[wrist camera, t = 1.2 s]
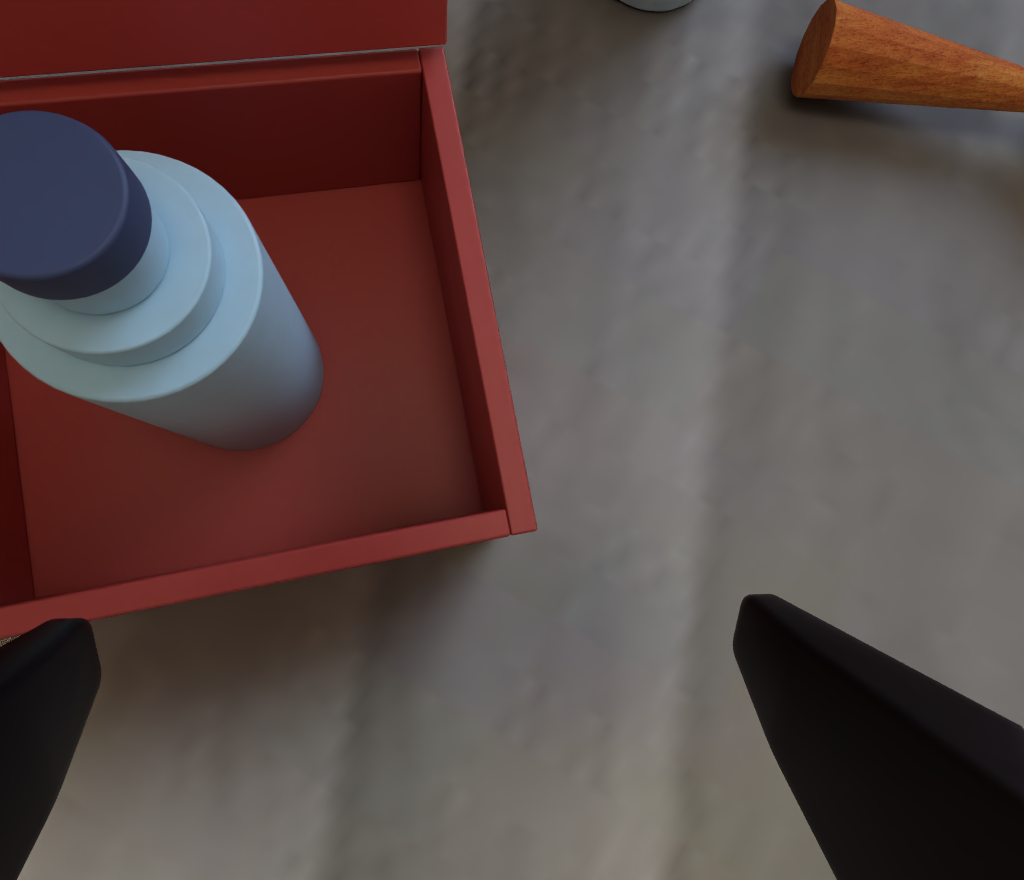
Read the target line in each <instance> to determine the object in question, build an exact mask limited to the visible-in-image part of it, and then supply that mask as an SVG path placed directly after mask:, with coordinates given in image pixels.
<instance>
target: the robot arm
mask: <svg viewBox="0 0 1024 880" xmlns="http://www.w3.org/2000/svg"><path fill="white" fill-rule="evenodd" d="M733 651H734V655H735V658H736V661H737V663H738V666H739V669H740V671H741V674H742V676H743V679H744V682H745V684H746V687H747V689H748V692H749V695H750V697H751V700H752V702H753V705H754V707H755V710H756V713H757V715H758V718H759V720H760V723H761V726H762V728H763V731H764V733H765V736H766V738H767V741H768V743H769V745H770V748H771V750H772V752H773V754H774V756H775V759H776V761H777V763H778V765H779V767H780V769H781V771H782V773H783V775H784V777H785V779H786V781H787V783H788V785H789V787H790V788H791V790H792V792H793V794H794V796H795V798H796V800H797V802H798V804H799V806H800V808H801V810H802V812H803V814H804V816H805V818H806V820H807V822H808V824H809V826H810V828H811V830H812V832H813V834H814V836H815V838H816V840H817V842H818V844H819V846H820V848H821V850H822V851H823V853H824V855H825V857H826V859H827V861H828V863H829V865H830V867H831V869H832V871H833V873H834V875H835V877H836V879H837V880H1024V729H1023V727H1021V726H1020V725H1018V724H1016V723H1014V722H1012V721H1011V720H1009V719H1007V718H1005V717H1003V716H1001V715H999V714H997V713H995V712H994V711H992V710H990V709H988V708H986V707H984V706H982V705H980V704H979V703H977V702H975V701H973V700H971V699H969V698H967V697H965V696H963V695H962V694H960V693H958V692H956V691H954V690H952V689H950V688H948V687H947V686H945V685H943V684H941V683H939V682H937V681H935V680H933V679H932V678H930V677H928V676H926V675H924V674H922V673H920V672H918V671H916V670H915V669H913V668H911V667H909V666H907V665H905V664H903V663H901V662H900V661H898V660H896V659H894V658H892V657H890V656H888V655H886V654H885V653H883V652H881V651H879V650H877V649H875V648H873V647H871V646H870V645H868V644H866V643H864V642H862V641H860V640H858V639H856V638H855V637H853V636H851V635H849V634H847V633H845V632H843V631H841V630H840V629H838V628H836V627H834V626H832V625H830V624H828V623H826V622H824V621H823V620H821V619H819V618H817V617H815V616H813V615H811V614H809V613H808V612H806V611H804V610H802V609H800V608H798V607H796V606H794V605H793V604H791V603H789V602H787V601H785V600H783V599H781V598H779V597H778V596H776V595H773V594H753V595H747V596H746V597H744V599H743V600H742V603H741V606H740V611H739V615H738V620H737V624H736V628H735V633H734V637H733ZM100 681H101V665H100V661H99V656H98V652H97V648H96V643H95V639H94V635H93V630H92V627H91V624H90V623H89V621H88V620H86V619H84V618H58V619H51V620H48V621H46V622H44V623H42V624H41V625H39V626H37V627H35V628H33V629H32V630H30V631H28V632H26V633H25V634H23V635H21V636H19V637H17V638H16V639H14V640H12V641H10V642H8V643H7V644H5V645H3V646H1V647H0V880H17V878H18V876H19V874H20V872H21V870H22V868H23V866H24V864H25V862H26V860H27V858H28V856H29V854H30V852H31V850H32V848H33V846H34V844H35V842H36V840H37V838H38V836H39V834H40V832H41V830H42V828H43V826H44V824H45V822H46V820H47V818H48V816H49V814H50V812H51V810H52V808H53V806H54V803H55V801H56V799H57V796H58V794H59V792H60V789H61V787H62V784H63V782H64V779H65V776H66V774H67V771H68V768H69V766H70V763H71V760H72V758H73V755H74V753H75V750H76V747H77V745H78V742H79V739H80V737H81V734H82V731H83V729H84V726H85V723H86V721H87V718H88V715H89V713H90V710H91V707H92V705H93V702H94V699H95V697H96V694H97V691H98V689H99V686H100Z"/></svg>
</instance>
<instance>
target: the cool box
mask: <svg viewBox="0 0 1024 880" xmlns="http://www.w3.org/2000/svg"><path fill="white" fill-rule="evenodd" d="M32 110H34V111H46V112H51V113H56V114H60V115H63V116H66V117H69V118H72V119H75V120H77V121H79V122H81V123H83V124H85V125H87V126H89V127H90V128H92V129H93V130H95V131H96V132H98V133H99V134H100V135H101V136H103V137H104V138H105V139H106V140H107V141H108V142H109V143H110V144H111V145H112V147H113V148H114V149H115V150H116V151H118V150H130V151H143V152H149V153H154V154H159V155H163V156H166V157H169V158H172V159H175V160H179V161H181V162H183V163H185V164H188V165H190V166H192V167H194V168H196V169H198V170H200V171H201V172H203V173H204V174H206V175H208V176H209V177H211V178H212V179H213V180H215V181H216V182H217V183H218V184H220V185H221V186H222V187H223V188H224V189H225V190H226V191H227V192H228V193H229V194H230V195H231V196H232V197H233V198H234V199H235V200H236V201H237V203H238V204H239V205H240V207H241V208H242V209H243V211H244V212H245V213H246V215H247V217H248V219H249V221H250V222H251V224H252V226H253V228H254V230H255V231H256V233H257V235H258V237H259V239H260V240H261V242H262V244H263V246H264V248H265V249H266V251H267V253H268V255H269V257H270V258H271V260H272V262H273V264H274V266H275V267H276V269H277V271H278V273H279V274H280V276H281V278H282V280H283V282H284V283H285V285H286V287H287V289H288V291H289V292H290V294H291V296H292V298H293V300H294V301H295V303H296V305H297V307H298V309H299V310H300V312H301V314H302V316H303V318H304V319H305V321H306V323H307V325H308V327H309V328H310V330H311V332H312V334H313V336H314V337H315V339H316V341H317V343H318V346H319V348H320V351H321V355H322V359H323V367H324V378H323V385H322V391H321V394H320V397H319V400H318V402H317V404H316V406H315V408H314V410H313V411H312V413H311V414H310V416H309V417H308V419H307V420H306V421H305V422H304V423H303V424H302V426H300V427H299V428H298V429H297V430H296V431H295V432H294V433H292V434H291V435H289V436H288V437H286V438H285V439H283V440H281V441H279V442H277V443H275V444H272V445H270V446H267V447H264V448H259V449H255V450H246V451H233V450H226V449H221V448H217V447H213V446H210V445H207V444H205V443H202V442H199V441H196V440H194V439H191V438H188V437H185V436H182V435H180V434H177V433H174V432H171V431H169V430H166V429H163V428H160V427H158V426H155V425H152V424H149V423H147V422H144V421H141V420H138V419H135V418H133V417H130V416H127V415H124V414H122V413H119V412H116V411H113V410H111V409H108V408H105V407H102V406H100V405H97V404H94V403H91V402H88V401H86V400H83V399H80V398H77V397H75V396H72V395H69V394H67V393H65V392H62V391H60V390H57V389H55V388H53V387H51V386H49V385H48V384H46V383H44V382H42V381H41V380H39V379H37V378H36V377H35V376H33V375H32V374H31V373H29V372H28V371H27V370H26V369H24V368H23V367H22V366H21V365H20V364H19V363H18V362H17V361H16V360H15V359H14V358H13V357H12V356H11V355H10V354H9V352H8V351H7V349H6V348H5V347H4V345H3V344H2V343H1V341H0V639H3V638H8V637H13V636H18V635H23V634H25V633H26V632H28V631H30V630H32V629H33V628H35V627H37V626H39V625H41V624H42V623H44V622H46V621H48V620H51V619H58V618H84V619H86V620H88V621H92V620H97V619H102V618H107V617H112V616H117V615H122V614H127V613H132V612H137V611H142V610H147V609H152V608H157V607H161V606H166V605H171V604H176V603H181V602H186V601H191V600H196V599H201V598H206V597H211V596H216V595H221V594H226V593H231V592H236V591H240V590H245V589H250V588H255V587H260V586H265V585H270V584H275V583H280V582H285V581H290V580H295V579H300V578H305V577H310V576H315V575H319V574H324V573H329V572H334V571H339V570H344V569H349V568H354V567H359V566H364V565H369V564H374V563H379V562H384V561H389V560H394V559H398V558H403V557H408V556H413V555H418V554H423V553H428V552H433V551H438V550H443V549H448V548H453V547H458V546H463V545H468V544H473V543H477V542H482V541H487V540H492V539H497V538H502V537H507V536H509V535H517V534H522V533H527V532H532V531H536V530H537V524H536V519H535V514H534V509H533V504H532V499H531V494H530V489H529V483H528V478H527V473H526V468H525V463H524V458H523V453H522V447H521V442H520V437H519V432H518V427H517V422H516V417H515V412H514V406H513V401H512V396H511V391H510V386H509V381H508V376H507V371H506V365H505V360H504V355H503V350H502V345H501V340H500V335H499V329H498V324H497V319H496V314H495V309H494V304H493V299H492V294H491V288H490V283H489V278H488V273H487V268H486V263H485V258H484V253H483V247H482V242H481V237H480V232H479V227H478V222H477V217H476V211H475V206H474V201H473V196H472V191H471V186H470V181H469V176H468V170H467V165H466V160H465V155H464V150H463V145H462V140H461V135H460V129H459V124H458V119H457V114H456V109H455V104H454V99H453V93H452V88H451V83H450V78H449V73H448V68H447V63H446V58H445V52H444V49H443V47H432V48H420V49H419V52H418V51H417V50H416V49H411V50H398V51H384V52H371V53H358V54H345V55H331V56H318V57H305V58H292V59H278V60H265V61H252V62H239V63H225V64H212V65H199V66H186V67H172V68H159V69H146V70H133V71H119V72H106V73H93V74H80V75H66V76H53V77H40V78H27V79H13V80H0V115H1V114H5V113H9V112H16V111H32Z"/></svg>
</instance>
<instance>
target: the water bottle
mask: <svg viewBox="0 0 1024 880" xmlns="http://www.w3.org/2000/svg"><path fill="white" fill-rule="evenodd" d="M0 341H1V343H2V344H3V345H4V347H5V348H6V349H7V351H8V352H9V354H10V355H11V356H12V357H13V358H14V359H15V360H16V361H17V362H18V363H19V364H20V365H21V366H22V367H23V368H24V369H26V370H27V371H28V372H29V373H31V374H32V375H33V376H35V377H36V378H37V379H39V380H41V381H42V382H44V383H46V384H48V385H49V386H51V387H53V388H55V389H57V390H60V391H62V392H65V393H67V394H69V395H72V396H75V397H77V398H80V399H83V400H86V401H88V402H91V403H94V404H97V405H100V406H102V407H105V408H108V409H111V410H113V411H116V412H119V413H122V414H124V415H127V416H130V417H133V418H135V419H138V420H141V421H144V422H147V423H149V424H152V425H155V426H158V427H160V428H163V429H166V430H169V431H171V432H174V433H177V434H180V435H182V436H185V437H188V438H191V439H194V440H196V441H199V442H202V443H205V444H207V445H210V446H213V447H217V448H221V449H226V450H233V451H246V450H255V449H259V448H264V447H267V446H270V445H272V444H275V443H277V442H279V441H281V440H283V439H285V438H286V437H288V436H289V435H291V434H292V433H294V432H295V431H296V430H297V429H298V428H299V427H300V426H302V424H303V423H304V422H305V421H306V420H307V419H308V417H309V416H310V414H311V413H312V411H313V410H314V408H315V406H316V404H317V402H318V400H319V397H320V394H321V391H322V385H323V378H324V367H323V359H322V355H321V351H320V348H319V346H318V343H317V341H316V339H315V337H314V336H313V334H312V332H311V330H310V328H309V327H308V325H307V323H306V321H305V319H304V318H303V316H302V314H301V312H300V310H299V309H298V307H297V305H296V303H295V301H294V300H293V298H292V296H291V294H290V292H289V291H288V289H287V287H286V285H285V283H284V282H283V280H282V278H281V276H280V274H279V273H278V271H277V269H276V267H275V266H274V264H273V262H272V260H271V258H270V257H269V255H268V253H267V251H266V249H265V248H264V246H263V244H262V242H261V240H260V239H259V237H258V235H257V233H256V231H255V230H254V228H253V226H252V224H251V222H250V221H249V219H248V217H247V215H246V213H245V212H244V211H243V209H242V208H241V207H240V205H239V204H238V203H237V201H236V200H235V199H234V198H233V197H232V196H231V195H230V194H229V193H228V192H227V191H226V190H225V189H224V188H223V187H222V186H221V185H220V184H218V183H217V182H216V181H215V180H213V179H212V178H211V177H209V176H208V175H206V174H204V173H203V172H201V171H200V170H198V169H196V168H194V167H192V166H190V165H188V164H185V163H183V162H181V161H179V160H175V159H172V158H169V157H166V156H163V155H159V154H154V153H149V152H143V151H130V150H118V151H116V150H115V149H114V148H113V147H112V145H111V144H110V143H109V142H108V141H107V140H106V139H105V138H104V137H103V136H101V135H100V134H99V133H98V132H96V131H95V130H93V129H92V128H90V127H89V126H87V125H85V124H83V123H81V122H79V121H77V120H75V119H72V118H69V117H66V116H63V115H60V114H56V113H51V112H46V111H34V110H32V111H16V112H9V113H5V114H1V115H0Z"/></svg>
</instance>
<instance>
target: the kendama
mask: <svg viewBox="0 0 1024 880" xmlns="http://www.w3.org/2000/svg"><path fill="white" fill-rule="evenodd" d="M791 87H792V93H793V95H795V96H796V97H802V98H817V99H831V100H846V101H861V102H876V103H891V104H906V105H921V106H935V107H950V108H965V109H980V110H995V111H1010V112H1024V67H1022V66H1020V65H1017V64H1014V63H1011V62H1008V61H1006V60H1003V59H1000V58H997V57H994V56H992V55H989V54H986V53H983V52H980V51H977V50H975V49H972V48H969V47H966V46H963V45H961V44H958V43H955V42H952V41H949V40H946V39H944V38H941V37H938V36H935V35H932V34H930V33H927V32H924V31H921V30H918V29H916V28H913V27H910V26H907V25H904V24H901V23H899V22H896V21H893V20H890V19H887V18H885V17H882V16H879V15H876V14H873V13H870V12H868V11H865V10H862V9H859V8H856V7H854V6H851V5H848V4H845V3H842V2H840V1H837V0H827V1H826V2H824V3H823V4H822V5H821V6H820V8H819V9H818V11H817V12H816V13H815V15H814V16H813V18H812V20H811V22H810V24H809V26H808V28H807V30H806V32H805V34H804V36H803V39H802V42H801V44H800V47H799V50H798V52H797V56H796V60H795V64H794V68H793V73H792V82H791Z"/></svg>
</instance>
